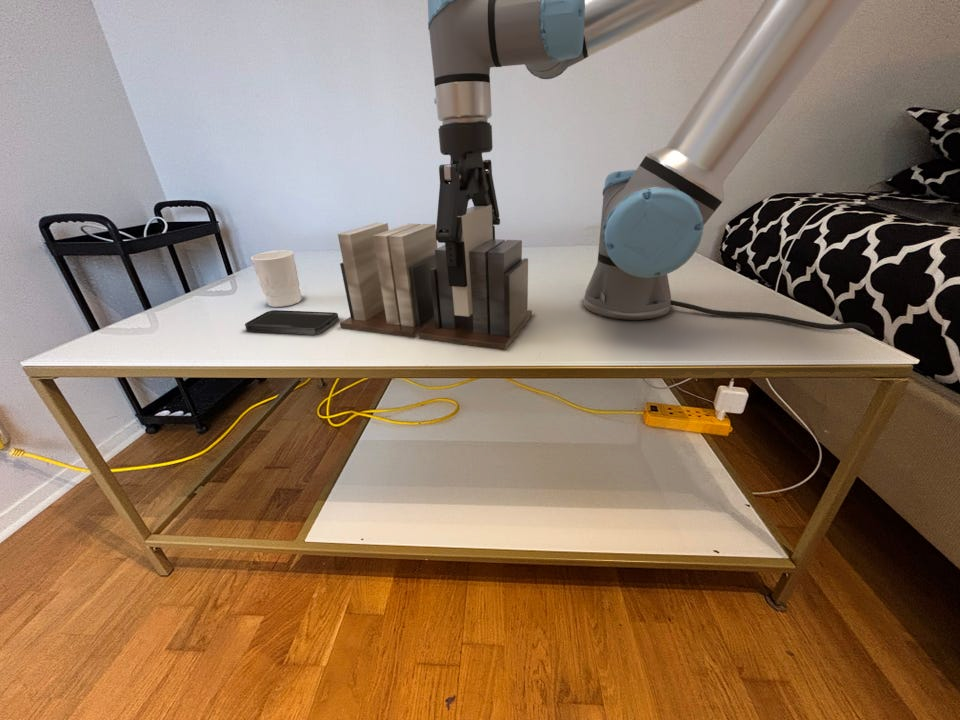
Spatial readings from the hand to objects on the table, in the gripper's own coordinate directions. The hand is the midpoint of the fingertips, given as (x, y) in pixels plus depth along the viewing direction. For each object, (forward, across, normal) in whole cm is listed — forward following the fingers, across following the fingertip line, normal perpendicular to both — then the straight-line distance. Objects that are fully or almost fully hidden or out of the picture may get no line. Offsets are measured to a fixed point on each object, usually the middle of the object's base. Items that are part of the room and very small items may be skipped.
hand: (474, 274), depth 67 cm
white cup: (+9, -1, -45) cm, 46 cm away
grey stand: (+9, 0, 0) cm, 9 cm away
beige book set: (+9, 0, -16) cm, 18 cm away
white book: (+5, 0, 0) cm, 5 cm away
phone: (+9, +9, -33) cm, 35 cm away
